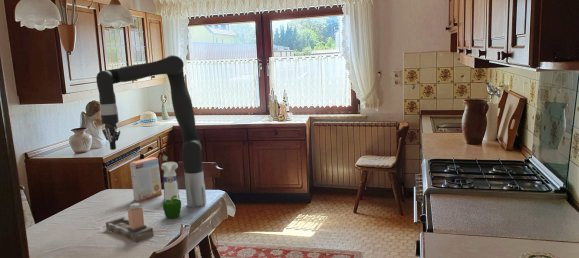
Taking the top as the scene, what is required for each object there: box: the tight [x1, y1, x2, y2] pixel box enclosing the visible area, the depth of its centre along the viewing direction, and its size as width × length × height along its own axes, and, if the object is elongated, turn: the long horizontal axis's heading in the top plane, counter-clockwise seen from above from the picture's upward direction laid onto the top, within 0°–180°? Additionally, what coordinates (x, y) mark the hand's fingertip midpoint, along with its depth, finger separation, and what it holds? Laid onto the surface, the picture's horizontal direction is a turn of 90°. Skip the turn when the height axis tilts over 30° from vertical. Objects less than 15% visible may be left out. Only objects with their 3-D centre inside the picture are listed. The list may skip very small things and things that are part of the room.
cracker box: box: [129, 156, 163, 202], centre depth 240 cm, size 14×6×21 cm, turn 141°
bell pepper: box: [162, 195, 182, 220], centre depth 209 cm, size 8×8×10 cm
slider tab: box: [127, 202, 147, 233], centre depth 187 cm, size 5×6×12 cm
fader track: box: [105, 216, 154, 243], centre depth 193 cm, size 24×8×4 cm, turn 50°
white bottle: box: [160, 154, 180, 202], centre depth 235 cm, size 8×9×25 cm
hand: (113, 149), depth 212 cm, fingers closed
